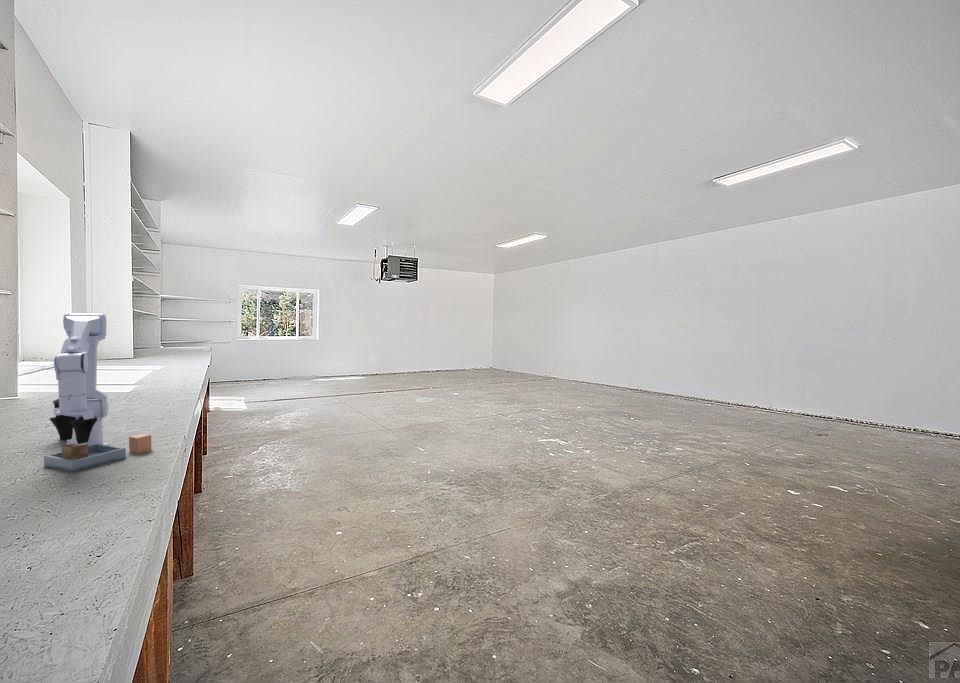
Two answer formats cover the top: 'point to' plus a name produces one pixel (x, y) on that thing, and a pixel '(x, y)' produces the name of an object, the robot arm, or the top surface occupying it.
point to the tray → (86, 458)
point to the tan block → (75, 451)
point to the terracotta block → (140, 443)
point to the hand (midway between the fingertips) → (74, 441)
